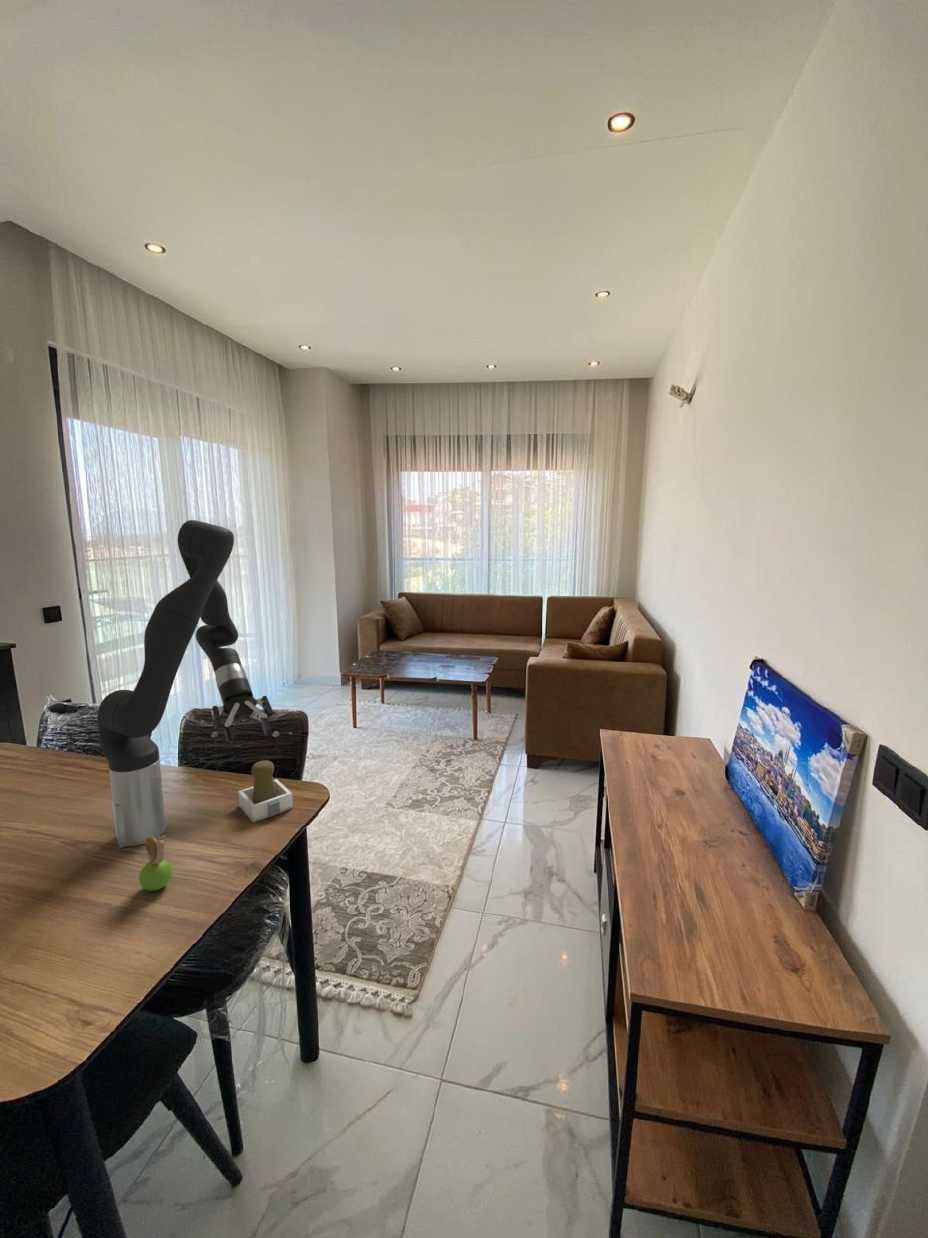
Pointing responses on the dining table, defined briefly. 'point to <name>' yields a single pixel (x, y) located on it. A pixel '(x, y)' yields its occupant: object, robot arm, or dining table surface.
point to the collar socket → (265, 803)
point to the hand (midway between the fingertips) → (250, 737)
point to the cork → (263, 781)
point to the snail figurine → (155, 866)
